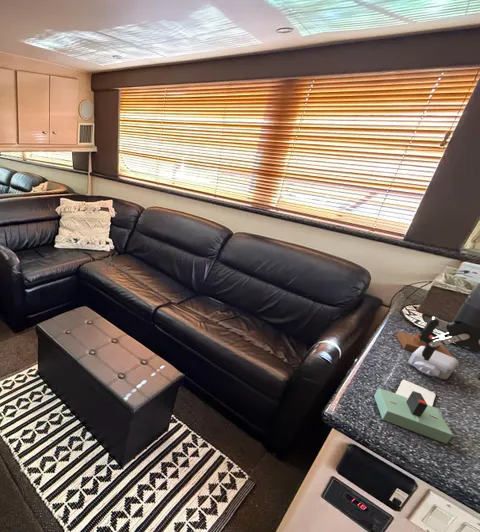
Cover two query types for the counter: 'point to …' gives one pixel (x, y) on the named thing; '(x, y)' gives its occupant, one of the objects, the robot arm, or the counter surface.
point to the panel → (412, 416)
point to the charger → (434, 363)
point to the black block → (416, 403)
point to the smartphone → (408, 388)
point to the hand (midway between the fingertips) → (451, 368)
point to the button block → (417, 343)
